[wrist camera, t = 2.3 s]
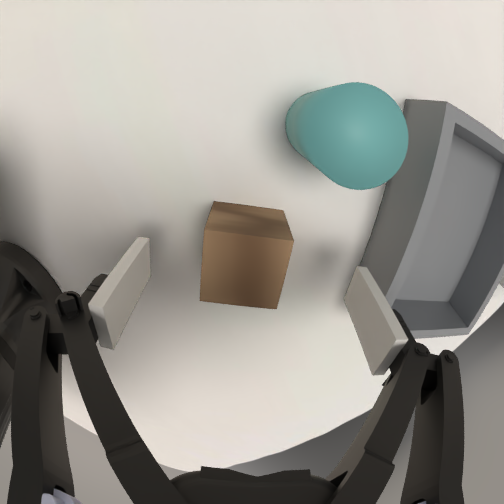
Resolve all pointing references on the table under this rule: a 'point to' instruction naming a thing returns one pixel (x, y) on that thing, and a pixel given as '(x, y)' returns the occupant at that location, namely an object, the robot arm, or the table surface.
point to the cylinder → (350, 134)
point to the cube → (245, 255)
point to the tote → (441, 222)
